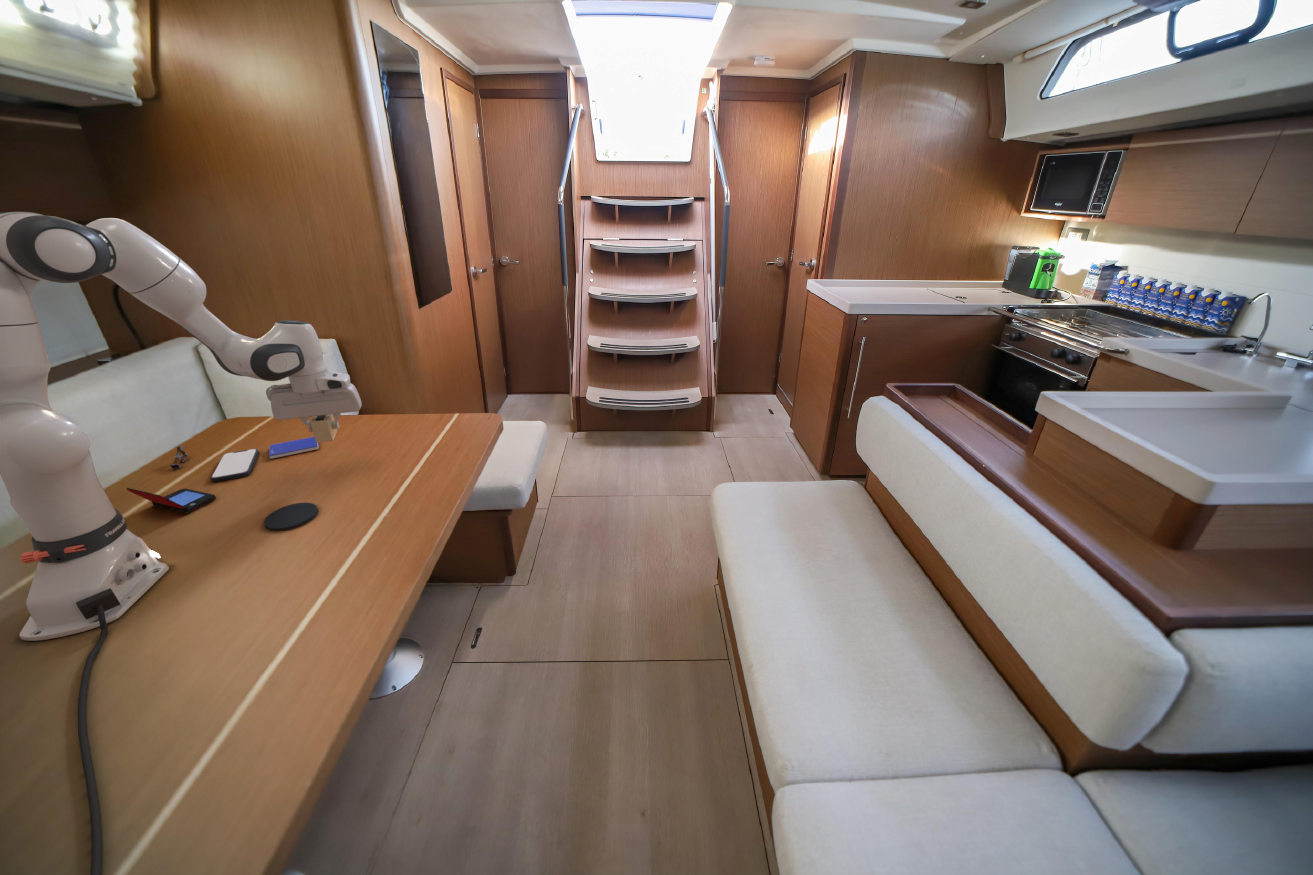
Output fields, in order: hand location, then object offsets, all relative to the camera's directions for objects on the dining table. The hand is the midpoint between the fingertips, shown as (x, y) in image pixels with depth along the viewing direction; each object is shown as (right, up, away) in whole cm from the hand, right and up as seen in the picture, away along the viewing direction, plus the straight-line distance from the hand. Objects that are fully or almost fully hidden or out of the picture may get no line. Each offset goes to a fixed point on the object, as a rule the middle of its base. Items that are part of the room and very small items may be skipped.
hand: (325, 429), depth 137 cm
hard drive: (-21, -6, +18) cm, 29 cm away
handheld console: (-31, -20, -10) cm, 38 cm away
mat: (+1, -22, -14) cm, 26 cm away
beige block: (0, -2, +1) cm, 2 cm away
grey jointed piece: (-49, -10, +10) cm, 51 cm away
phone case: (-31, -11, +8) cm, 34 cm away
